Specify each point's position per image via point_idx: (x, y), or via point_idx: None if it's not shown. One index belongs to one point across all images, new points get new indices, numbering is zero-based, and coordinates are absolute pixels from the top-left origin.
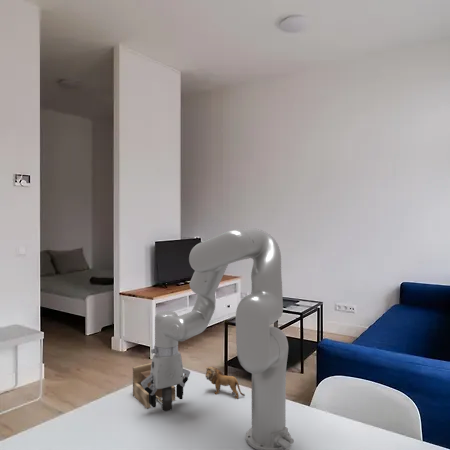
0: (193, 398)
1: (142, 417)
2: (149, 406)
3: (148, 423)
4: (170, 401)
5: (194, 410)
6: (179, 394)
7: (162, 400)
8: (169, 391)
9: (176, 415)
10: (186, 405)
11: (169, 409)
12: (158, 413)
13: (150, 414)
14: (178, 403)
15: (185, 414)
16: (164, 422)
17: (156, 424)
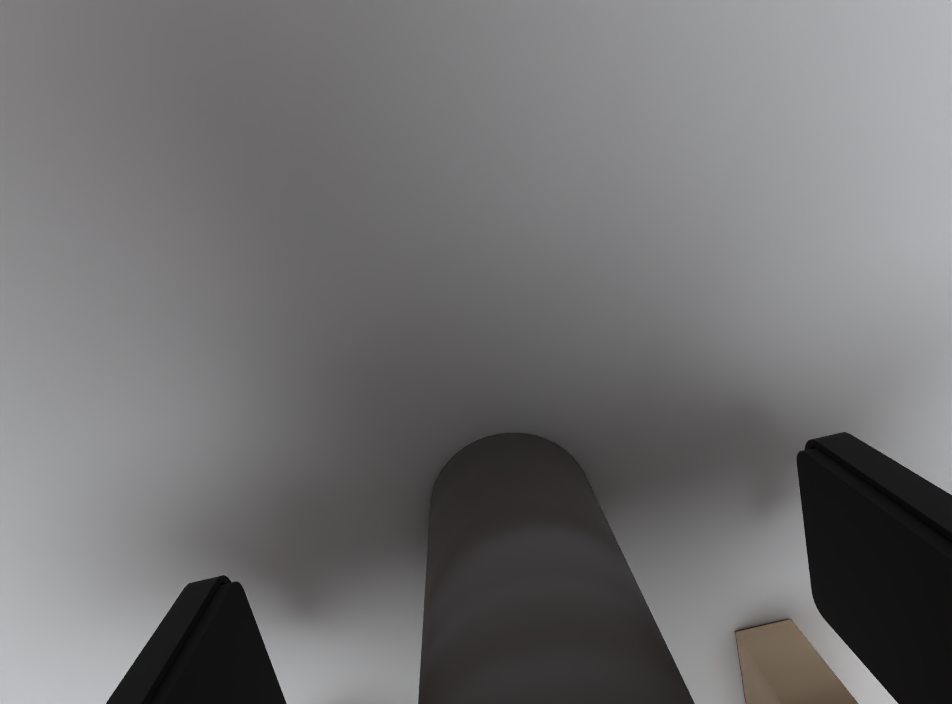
0: (11, 690)
1: (949, 378)
2: (761, 641)
3: (938, 141)
4: (474, 520)
5: (57, 289)
6: (221, 680)
7: (638, 587)
8: (524, 689)
9: (415, 232)
10: (170, 510)
11: (489, 445)
12: (680, 412)
13: (805, 426)
14: (288, 614)
15: (249, 205)
16: (682, 61)
17: (831, 46)
